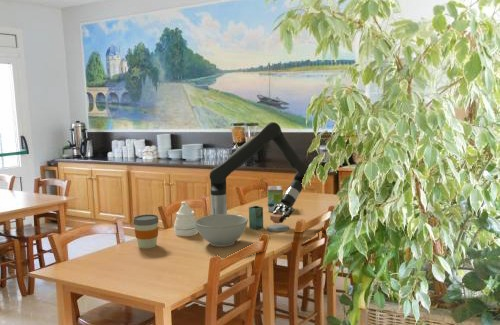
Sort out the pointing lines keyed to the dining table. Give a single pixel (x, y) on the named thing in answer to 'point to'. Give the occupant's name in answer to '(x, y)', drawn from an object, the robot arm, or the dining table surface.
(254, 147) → the robot arm
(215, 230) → the decorative bowl
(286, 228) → the slate mat
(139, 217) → the reusable coffee cup
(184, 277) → the dining table surface
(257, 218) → the tea tin
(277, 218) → the tin lid
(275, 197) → the tea box
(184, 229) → the honey pot
